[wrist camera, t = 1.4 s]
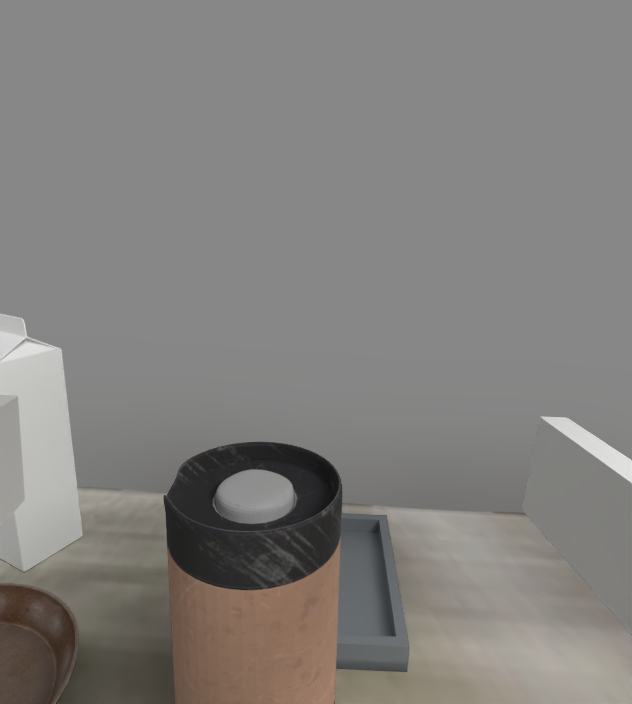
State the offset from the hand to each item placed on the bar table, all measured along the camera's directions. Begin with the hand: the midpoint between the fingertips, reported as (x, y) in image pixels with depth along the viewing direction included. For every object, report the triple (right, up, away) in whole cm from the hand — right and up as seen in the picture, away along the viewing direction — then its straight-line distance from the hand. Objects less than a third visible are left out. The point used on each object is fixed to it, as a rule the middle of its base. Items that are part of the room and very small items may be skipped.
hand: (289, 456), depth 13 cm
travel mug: (-2, -22, +14) cm, 27 cm away
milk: (-26, -16, +35) cm, 46 cm away
